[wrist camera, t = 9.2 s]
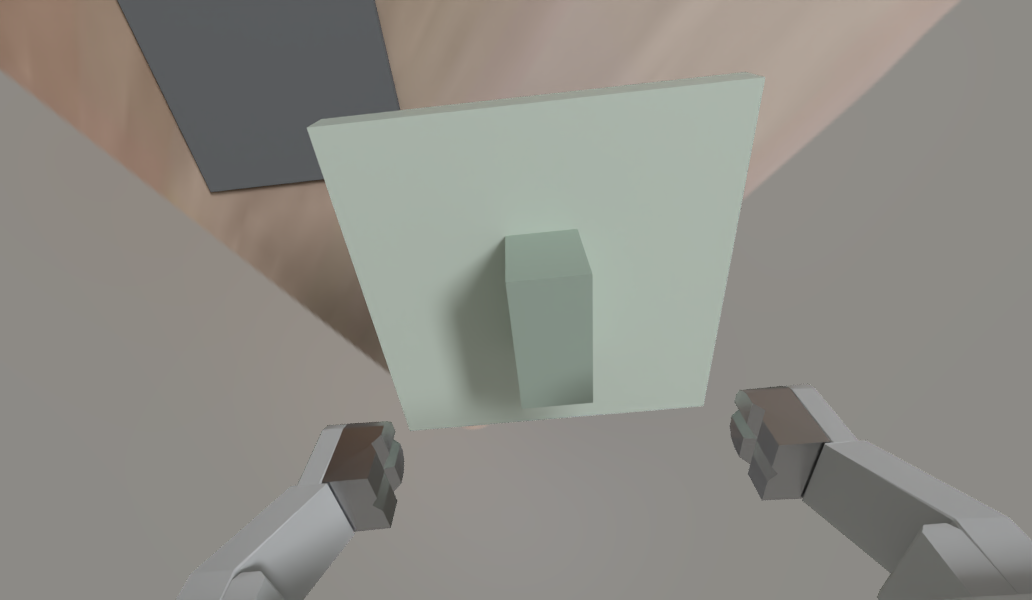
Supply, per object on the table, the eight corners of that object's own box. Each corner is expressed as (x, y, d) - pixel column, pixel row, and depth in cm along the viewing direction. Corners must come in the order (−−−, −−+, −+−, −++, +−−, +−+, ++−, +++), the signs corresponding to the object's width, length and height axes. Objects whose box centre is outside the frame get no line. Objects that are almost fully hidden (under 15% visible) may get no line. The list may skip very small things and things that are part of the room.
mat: (88, -71, 23) (82, -73, 23) (348, -111, 22) (346, -113, 22) (214, 190, 31) (210, 191, 30) (413, 167, 30) (412, 168, 29)
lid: (320, 119, 14) (258, 156, 10) (745, 71, 13) (832, 94, 10) (414, 410, 21) (396, 491, 17) (693, 386, 20) (732, 465, 17)
